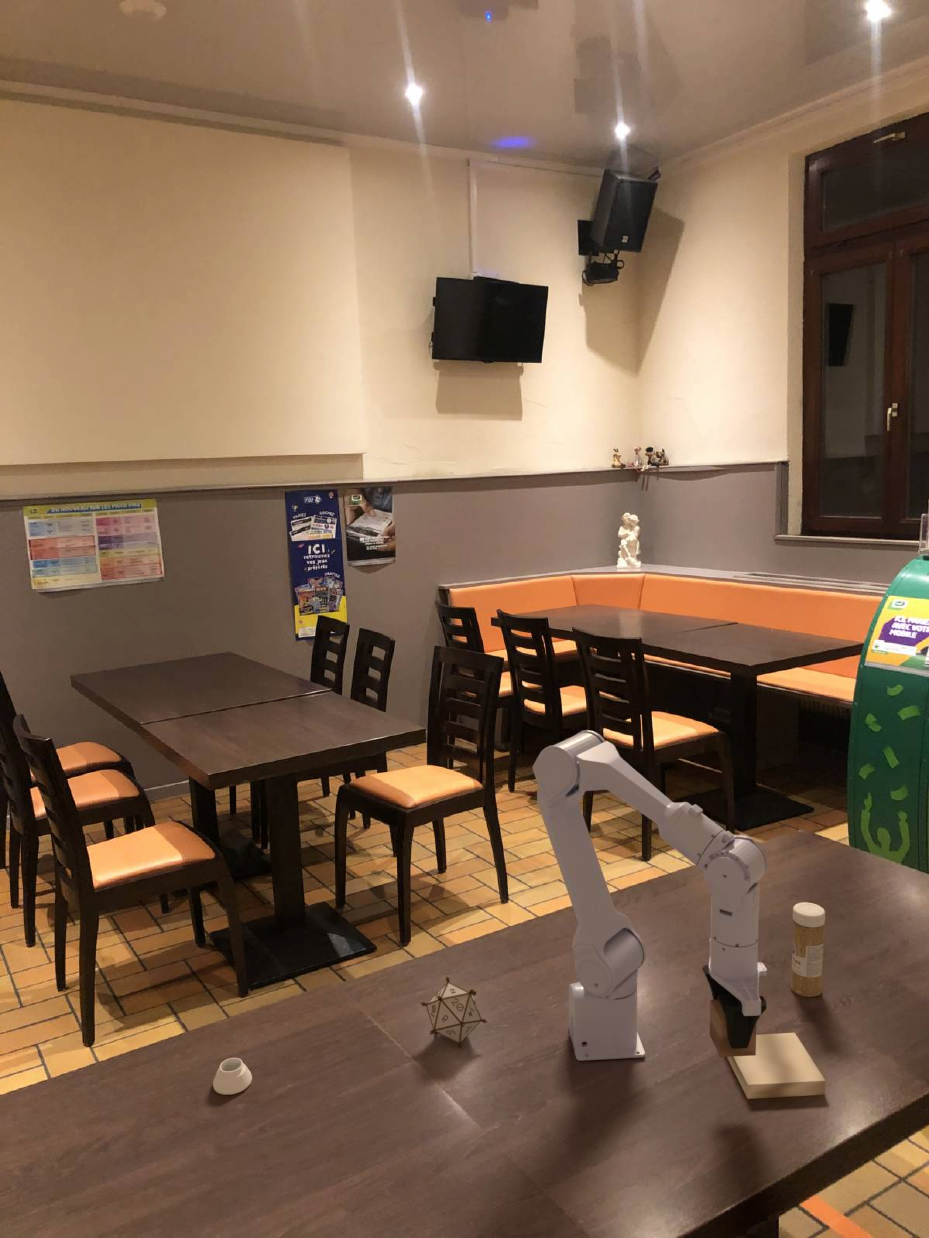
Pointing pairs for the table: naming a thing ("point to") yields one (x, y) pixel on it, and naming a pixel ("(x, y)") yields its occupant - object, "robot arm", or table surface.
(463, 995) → the game die
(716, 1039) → the walnut block
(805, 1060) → the birch base
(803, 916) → the sprinkles bottle
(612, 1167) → the table surface
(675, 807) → the robot arm
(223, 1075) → the lidless jar
